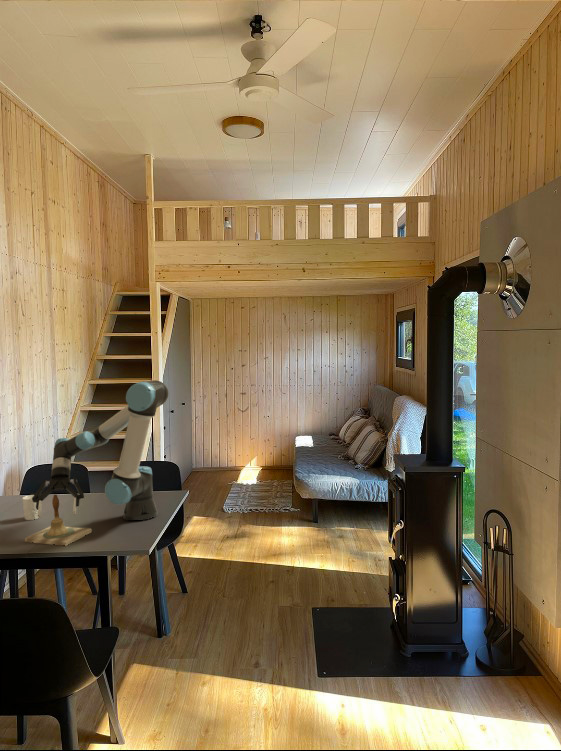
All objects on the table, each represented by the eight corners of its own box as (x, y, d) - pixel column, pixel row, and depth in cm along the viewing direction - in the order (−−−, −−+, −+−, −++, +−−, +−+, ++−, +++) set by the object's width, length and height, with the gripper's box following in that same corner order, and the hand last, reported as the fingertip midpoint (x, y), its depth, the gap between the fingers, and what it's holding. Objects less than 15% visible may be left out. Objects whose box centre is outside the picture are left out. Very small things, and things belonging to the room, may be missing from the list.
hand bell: (47, 537, 219) (45, 498, 218) (46, 531, 227) (44, 494, 226) (69, 534, 223) (67, 495, 222) (67, 528, 230) (65, 491, 230)
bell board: (91, 532, 230) (91, 528, 229) (66, 545, 214) (66, 541, 214) (52, 528, 235) (52, 525, 235) (24, 541, 220) (24, 537, 220)
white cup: (34, 521, 247) (33, 499, 247) (19, 520, 249) (18, 499, 248) (45, 515, 255) (44, 494, 254) (30, 515, 256) (29, 494, 256)
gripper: (92, 472, 242) (89, 516, 228) (31, 477, 236) (25, 522, 222) (90, 463, 236) (87, 507, 223) (28, 468, 231) (22, 513, 217)
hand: (56, 514), depth 222 cm, fingers open, 13 cm apart
